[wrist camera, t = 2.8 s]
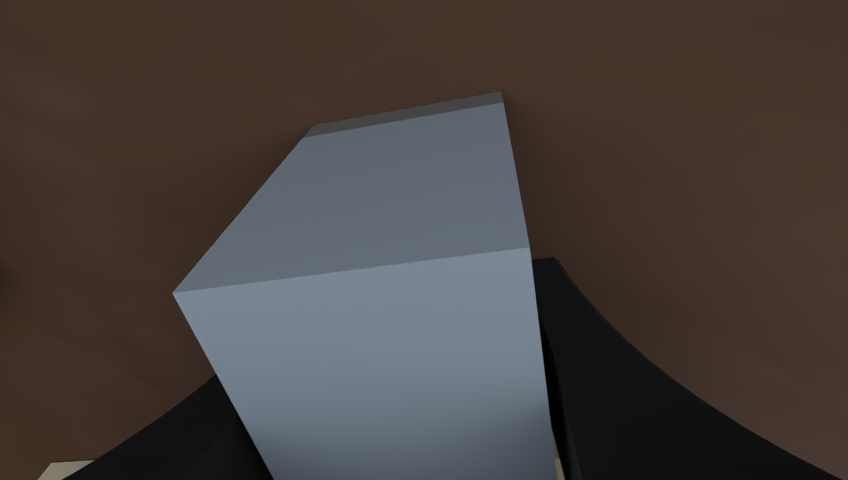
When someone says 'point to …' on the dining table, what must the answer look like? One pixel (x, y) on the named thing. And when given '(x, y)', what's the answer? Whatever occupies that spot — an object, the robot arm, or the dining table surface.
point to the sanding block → (383, 304)
